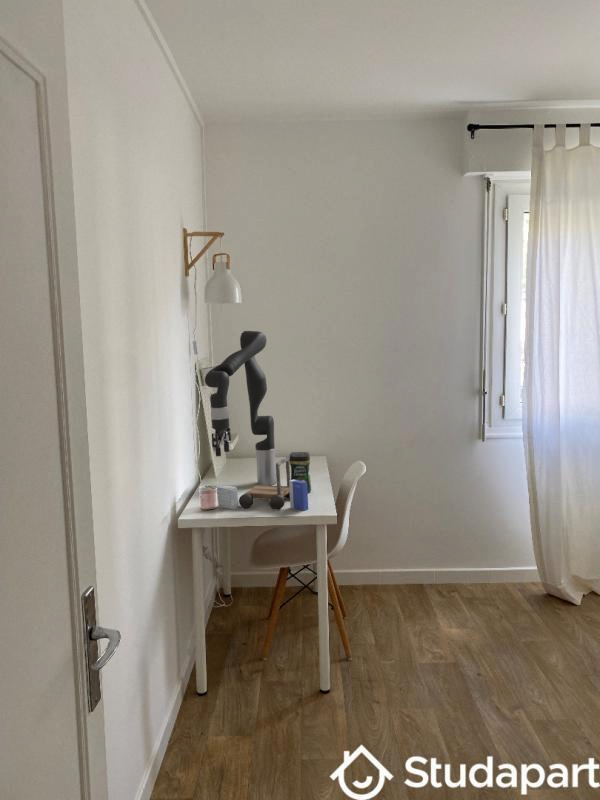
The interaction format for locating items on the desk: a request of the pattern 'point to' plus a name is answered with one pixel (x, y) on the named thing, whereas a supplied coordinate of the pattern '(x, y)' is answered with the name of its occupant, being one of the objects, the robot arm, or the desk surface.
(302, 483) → the walkman
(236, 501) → the medicine box
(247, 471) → the desk surface
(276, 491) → the trolley
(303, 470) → the coffee jar
